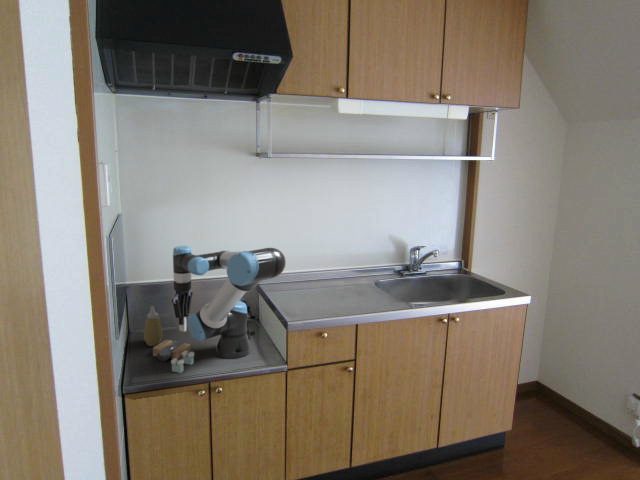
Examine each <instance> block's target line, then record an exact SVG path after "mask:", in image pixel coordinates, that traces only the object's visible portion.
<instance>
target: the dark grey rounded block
mask: <svg viewBox="0 0 640 480" xmlns="http://www.w3.org/2000/svg"><path fill="white" fill-rule="evenodd" d="M182 344H183V343H182V341H179V340H174V341H172V343H171V344H169V345H168V346H166V347H165V348H163V349H162V350H160V351H159V352H158V353H157V356H156V358H157V359H158V360H159V362H163V363H164V362H166V361H168V360H169V359H172V355H171V352H172V351H173V350H175V349H176V348H178V347H179V346H181V345H182Z"/></svg>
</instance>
